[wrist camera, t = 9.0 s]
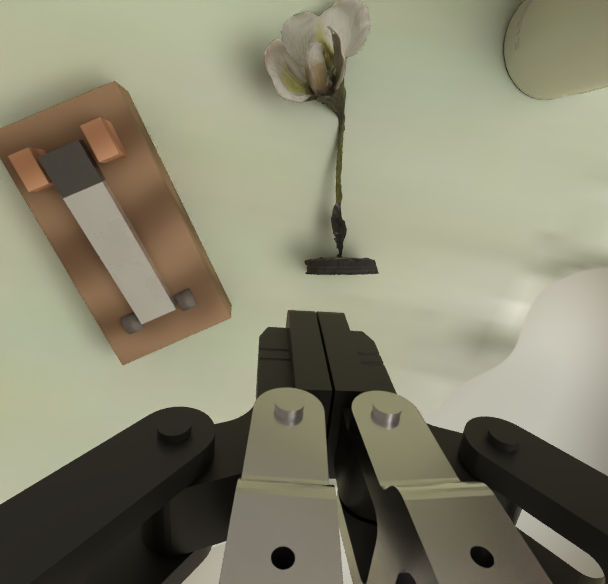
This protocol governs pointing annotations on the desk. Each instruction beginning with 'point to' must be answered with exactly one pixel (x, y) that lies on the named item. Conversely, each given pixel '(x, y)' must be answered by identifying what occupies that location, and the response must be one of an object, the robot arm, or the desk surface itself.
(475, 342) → the desk surface
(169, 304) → the lever
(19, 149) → the lever base
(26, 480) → the desk surface
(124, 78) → the desk surface
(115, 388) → the desk surface
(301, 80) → the artificial flower
